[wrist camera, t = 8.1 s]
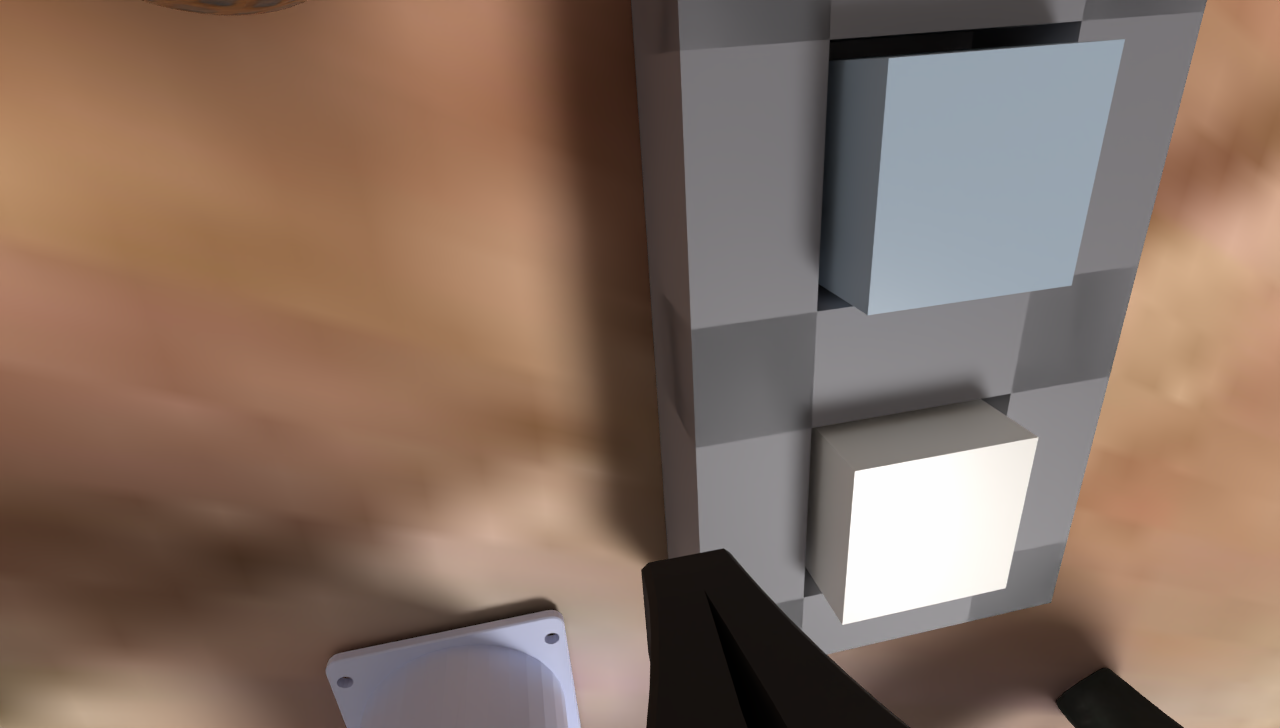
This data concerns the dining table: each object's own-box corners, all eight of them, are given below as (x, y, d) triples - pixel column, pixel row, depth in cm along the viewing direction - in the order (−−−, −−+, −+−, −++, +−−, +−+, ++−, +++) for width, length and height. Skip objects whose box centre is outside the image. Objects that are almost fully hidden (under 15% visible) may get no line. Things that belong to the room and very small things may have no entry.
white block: (922, 505, 22) (1005, 588, 18) (783, 532, 21) (842, 624, 18) (940, 372, 20) (1038, 436, 16) (787, 397, 19) (854, 471, 16)
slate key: (958, 244, 18) (1071, 285, 15) (791, 266, 17) (868, 315, 14) (985, 47, 16) (1125, 39, 13) (796, 62, 15) (888, 58, 12)
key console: (963, 520, 26) (1051, 602, 22) (669, 579, 24) (705, 682, 20) (1067, -84, 17) (1241, -132, 13) (626, -64, 15) (673, -113, 11)
